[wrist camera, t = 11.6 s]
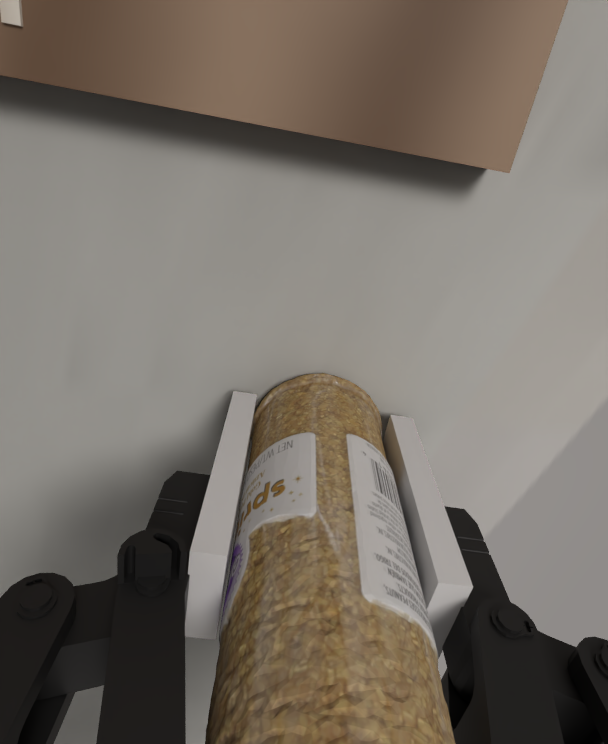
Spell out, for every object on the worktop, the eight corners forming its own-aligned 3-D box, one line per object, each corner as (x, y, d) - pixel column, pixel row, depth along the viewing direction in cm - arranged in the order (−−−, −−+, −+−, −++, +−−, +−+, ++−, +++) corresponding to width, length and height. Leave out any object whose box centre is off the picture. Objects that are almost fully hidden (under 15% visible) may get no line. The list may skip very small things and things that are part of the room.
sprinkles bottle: (244, 373, 16) (52, 1135, 4) (383, 365, 16) (629, 1136, 4) (259, 482, 18) (165, 1198, 6) (382, 476, 18) (537, 1200, 6)
